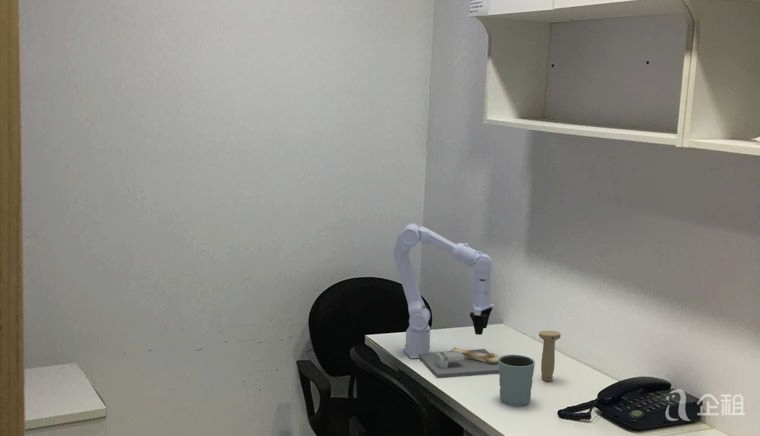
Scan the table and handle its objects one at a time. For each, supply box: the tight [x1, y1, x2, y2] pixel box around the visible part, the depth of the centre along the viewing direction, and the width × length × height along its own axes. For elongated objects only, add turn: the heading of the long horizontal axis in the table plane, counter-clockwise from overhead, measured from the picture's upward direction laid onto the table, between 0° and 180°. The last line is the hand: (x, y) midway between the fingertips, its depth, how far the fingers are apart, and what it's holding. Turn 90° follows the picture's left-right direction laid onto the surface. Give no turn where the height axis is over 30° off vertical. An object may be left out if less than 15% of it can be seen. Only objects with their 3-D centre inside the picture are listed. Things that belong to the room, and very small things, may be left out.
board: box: [418, 348, 499, 379], centre depth 243 cm, size 20×24×1 cm
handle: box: [538, 330, 562, 382], centre depth 230 cm, size 5×6×15 cm
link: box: [449, 347, 500, 364], centre depth 245 cm, size 16×5×2 cm, turn 60°
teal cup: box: [498, 354, 536, 407], centre depth 214 cm, size 10×10×12 cm
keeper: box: [435, 351, 465, 369], centre depth 239 cm, size 8×5×4 cm, turn 105°
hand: (481, 331), depth 248 cm, fingers open, 7 cm apart
